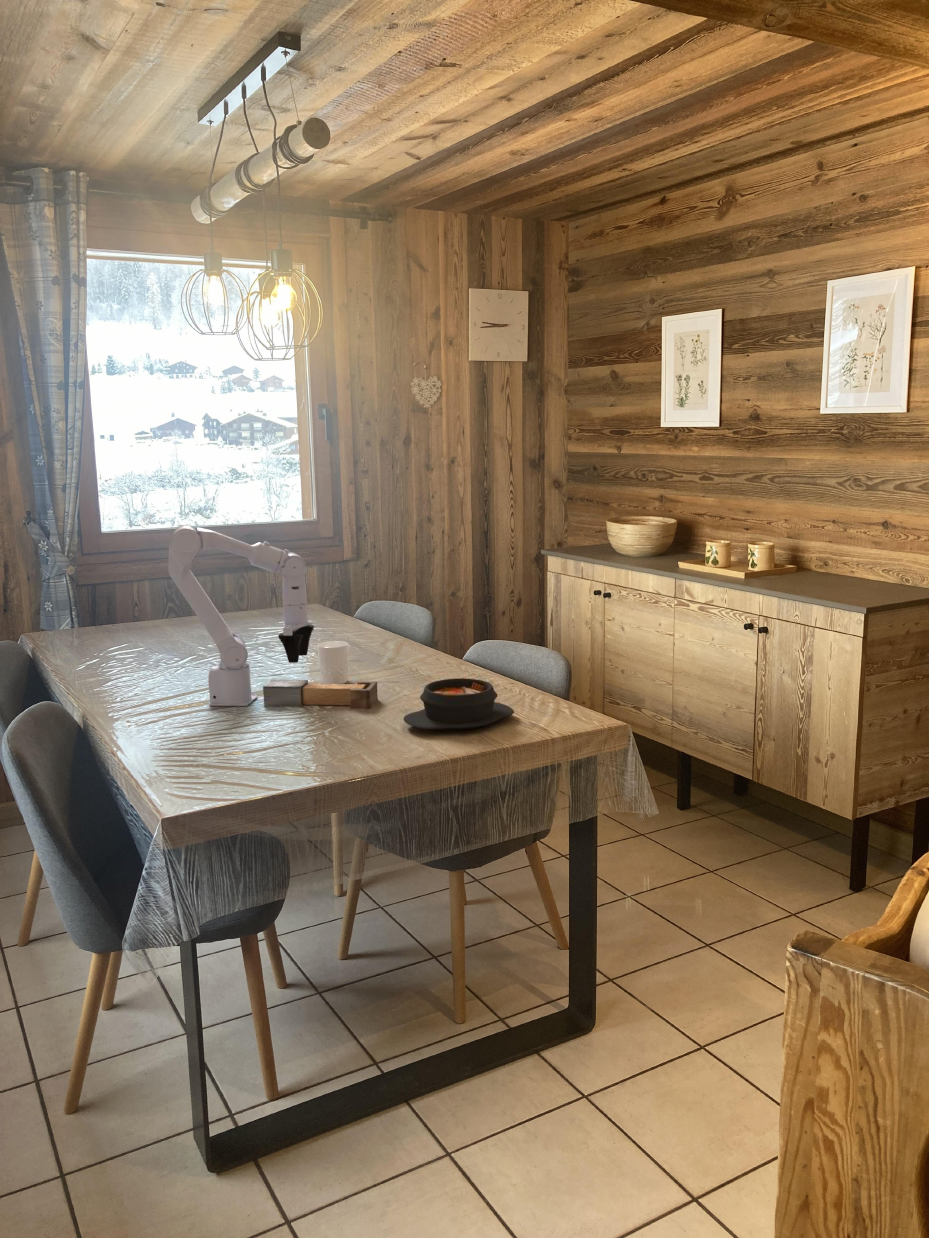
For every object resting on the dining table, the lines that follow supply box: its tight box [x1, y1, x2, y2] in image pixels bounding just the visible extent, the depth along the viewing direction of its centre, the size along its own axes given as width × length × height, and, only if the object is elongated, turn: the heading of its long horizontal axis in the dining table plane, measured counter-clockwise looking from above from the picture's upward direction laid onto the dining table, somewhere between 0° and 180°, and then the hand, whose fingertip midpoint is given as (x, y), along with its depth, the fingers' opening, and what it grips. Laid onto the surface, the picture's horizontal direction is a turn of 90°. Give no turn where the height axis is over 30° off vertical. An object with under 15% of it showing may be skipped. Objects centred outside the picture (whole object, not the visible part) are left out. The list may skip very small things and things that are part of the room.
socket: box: [350, 680, 379, 710], centre depth 231 cm, size 5×8×4 cm, turn 173°
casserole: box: [403, 677, 515, 731], centre depth 214 cm, size 25×19×8 cm
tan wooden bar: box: [301, 683, 366, 706], centre depth 232 cm, size 16×4×4 cm, turn 83°
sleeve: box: [262, 679, 309, 708], centre depth 234 cm, size 9×7×5 cm
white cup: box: [316, 640, 349, 684], centre depth 252 cm, size 8×8×10 cm
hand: (298, 658), depth 238 cm, fingers open, 7 cm apart
